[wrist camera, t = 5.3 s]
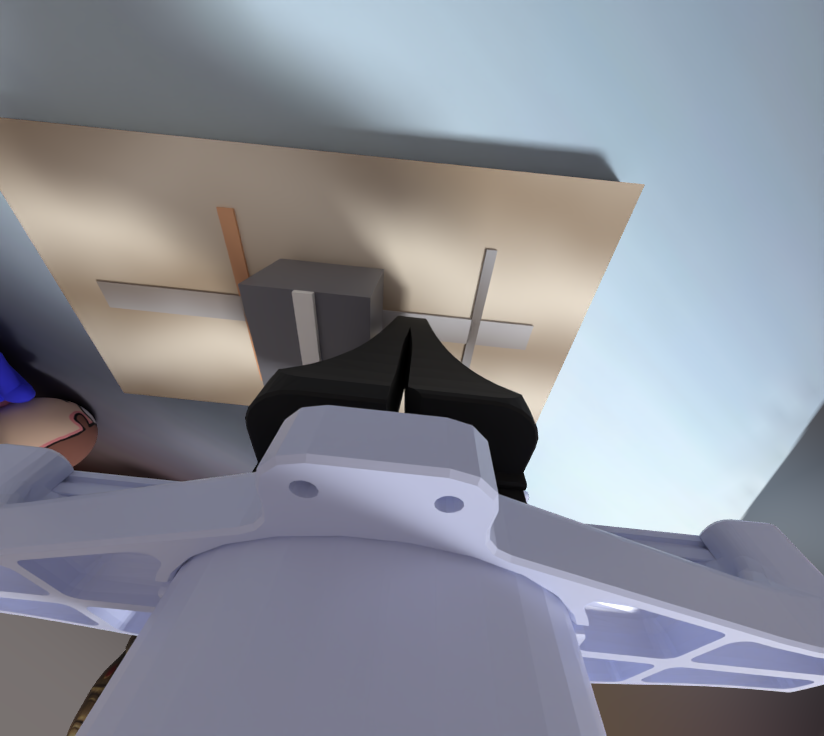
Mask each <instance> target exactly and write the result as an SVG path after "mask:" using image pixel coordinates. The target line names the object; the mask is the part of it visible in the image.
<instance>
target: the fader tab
mask: <svg viewBox="0 0 824 736" xmlns="http://www.w3.org/2000/svg"><path fill="white" fill-rule="evenodd" d="M383 284H384V269H378V268H368V267H358V266H349V265H339V264H329V263H320V262H310V261H300V260H291V259H281V258H280V259H279V260H277V261H275V262H274V263H272V264H270V265H269V266H267V267H265V268H264V269H262V270H260V271H259V272H257V273H255V274H254V275H252V276H250V277H249V278H247V279H245V280H244V281H242V282H240V283H239V284H238V287H239V291H240V295H241V299H242V302H243V306H244V310H245V314H246V318H247V322H248V326H249V330H250V334H251V338H252V342H253V345H254V349H255V353H256V357H257V361H258V365H259V369H260V373H261V377H262V381H263V385H264V386H265V384H266V383H267V382H268V380H269V379H270V378H271V377H272V376H273V375H274V374H275V373H276V371H277V370H278V369H283V368H289V367H295V366H301V365H307V364H312V363H316V362H320V361H323V360H327V359H330V358H333V357H336V356H338V355H341V354H343V353H346V352H348V351H351V350H353V349H355V348H357V347H359V346H361V345H362V344H364V343H366V342H367V341H369V340H370V339H372V338H373V337H374V336H376V335H377V334H378V333H380V332H381V331H382V317H383Z"/></svg>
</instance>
